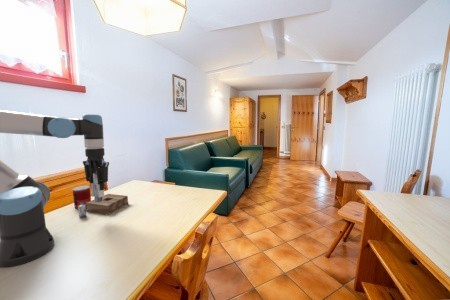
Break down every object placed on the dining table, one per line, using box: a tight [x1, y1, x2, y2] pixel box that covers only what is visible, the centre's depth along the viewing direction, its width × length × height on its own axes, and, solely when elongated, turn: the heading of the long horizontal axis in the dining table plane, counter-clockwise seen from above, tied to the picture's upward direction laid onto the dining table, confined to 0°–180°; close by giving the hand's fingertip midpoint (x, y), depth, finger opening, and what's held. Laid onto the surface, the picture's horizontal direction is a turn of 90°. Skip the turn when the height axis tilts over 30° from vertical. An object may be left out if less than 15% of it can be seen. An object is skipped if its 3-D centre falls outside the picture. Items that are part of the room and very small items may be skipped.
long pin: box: [93, 172, 102, 202], centre depth 94 cm, size 3×3×14 cm
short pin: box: [77, 204, 87, 219], centre depth 99 cm, size 3×3×6 cm
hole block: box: [86, 193, 129, 216], centre depth 110 cm, size 14×14×5 cm
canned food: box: [72, 185, 92, 210], centre depth 112 cm, size 8×8×11 cm
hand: (98, 195), depth 95 cm, fingers closed on long pin, 3 cm apart
